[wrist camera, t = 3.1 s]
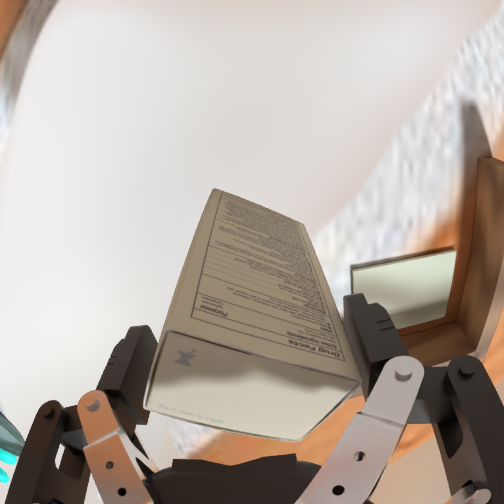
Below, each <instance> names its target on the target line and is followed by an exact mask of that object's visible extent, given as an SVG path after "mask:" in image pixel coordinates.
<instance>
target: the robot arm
mask: <svg viewBox="0 0 504 504" xmlns="http://www.w3.org/2000/svg"><path fill="white" fill-rule="evenodd" d="M343 303H344V329H345V332H346V334H347V337H348V340H349V343H350V346H351V348H352V352H353V354H354V357H355V360H356V363H357V366H358V369H359V372H360V374H361V377H362V380H363V383H362V385H361V388H362V391H363V395H364V398H365V402H366V403H365V405H364V407H363V409H362V410H361V412H357V413H356V414H355V415H354V417H353V418H352V420H351V422H350V423H349V425H348V427H347V428H346V430H345V432H344V433H343V435H342V436H341V438H340V440H339V441H338V443H337V444H336V446H335V448H334V449H333V451H332V452H331V454H330V455H329V457H328V458H327V460H326V461H325V463H324V464H323V466H320V465H317V464H314V463H310V462H305V461H297V457H296V453H294V454H286V455H277V456H268V457H262V458H258V459H255V460H252V461H248V462H245V463H241V464H237V465H233V466H229V465H223V464H219V463H214V462H209V461H205V460H196V459H173V463H172V467H169V468H165V469H162V470H159V469H158V467H157V466H156V465H155V463H154V462H153V460H152V458H151V457H150V455H149V453H148V451H147V449H146V448H145V446H144V444H143V443H142V440H141V439H140V437H139V435H138V433H137V432H136V431H135V428H136V424H138V425H147V422H148V418H149V414H150V411H149V410H146V409H144V408H143V399H144V394H145V390H146V385H147V381H148V378H149V374H150V370H151V367H152V363H153V360H154V356H155V353H156V349H157V346H158V343H157V341H156V339H155V337H154V335H153V333H152V331H151V329H150V327H149V326H148V325H142V326H132V327H130V328H129V330H128V332H127V334H126V337H125V339H122V340H121V341H120V342H119V343H118V344H117V345H116V346H115V347H114V349H113V352H112V354H111V356H110V357H111V358H109V361H108V363H107V365H106V367H105V369H104V372H103V374H102V376H101V379H100V381H99V383H98V386H97V388H96V390H93V391H90V392H88V393H86V394H85V395H83V396H82V397H81V399H80V400H79V402H78V405H74V406H70V407H66V408H64V407H63V406H62V405H61V404H60V403H59V402H58V401H56V400H51V401H48V402H46V403H45V404H43V405H42V406H41V407H40V408H39V410H38V412H37V414H36V416H35V419H34V421H33V424H32V426H31V429H30V431H29V434H28V436H27V439H26V441H25V444H24V446H23V449H22V452H21V454H20V457H19V460H18V463H17V466H16V469H15V472H14V475H13V478H12V481H11V484H10V487H9V490H8V494H7V497H6V500H5V504H84V500H85V495H86V491H87V486H88V482H89V477H90V473H92V476H93V478H94V481H95V484H96V486H97V488H98V491H99V493H100V496H101V498H102V500H103V503H104V504H374V503H372V502H371V501H370V498H371V496H372V495H373V493H374V491H375V489H376V487H377V486H378V484H379V482H380V481H381V479H382V477H383V475H384V473H385V471H386V469H387V467H388V465H389V463H390V461H391V459H392V457H393V455H394V452H395V450H396V448H397V446H398V444H399V442H400V440H401V438H402V435H403V433H404V431H405V429H406V426H407V424H429V423H432V427H433V430H434V433H435V436H436V440H437V443H438V446H439V450H440V454H441V457H442V461H443V464H444V468H445V472H446V476H447V480H448V484H449V488H450V493H451V498H450V499H449V500H447V501H446V502H445V503H444V504H504V406H503V404H502V402H501V400H500V397H499V395H498V393H497V391H496V389H495V387H494V385H493V383H492V381H491V379H490V377H489V375H488V373H487V372H486V370H485V368H484V366H483V364H482V363H481V361H480V360H478V359H477V358H476V357H474V356H471V355H459V356H456V357H455V358H453V359H452V360H451V361H450V362H449V364H448V366H441V367H428V366H424V365H422V364H421V363H420V362H419V361H418V360H417V359H415V358H413V357H410V355H409V353H408V351H407V349H406V347H405V345H404V343H403V341H402V339H401V337H400V335H399V333H398V331H397V329H396V328H395V325H394V323H393V321H392V320H391V317H390V316H389V314H388V312H387V310H386V309H385V308H384V307H382V306H381V305H380V304H379V303H377V302H376V303H372V304H368V302H367V300H366V298H365V296H364V294H363V293H362V292H361V293H356V294H351V295H346V296H344V298H343ZM60 444H62V445H63V446H64V447H65V449H64V453H63V456H62V459H61V463H60V466H59V469H57V467H56V465H55V457H56V454H57V451H58V448H59V445H60Z"/></svg>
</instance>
